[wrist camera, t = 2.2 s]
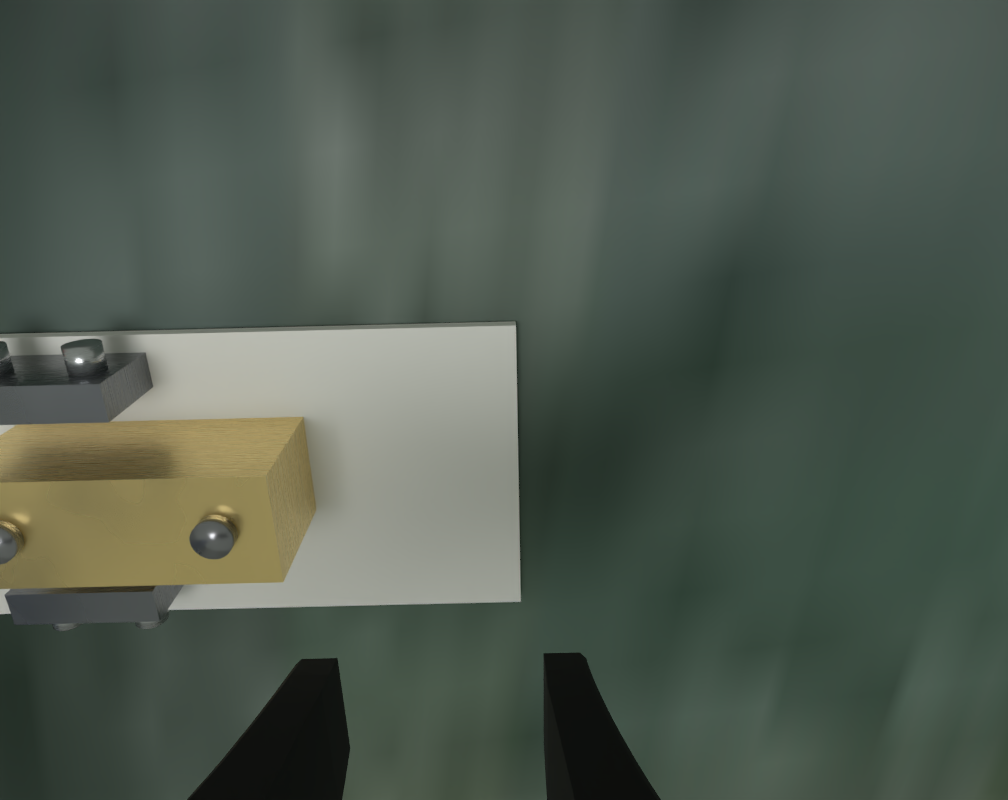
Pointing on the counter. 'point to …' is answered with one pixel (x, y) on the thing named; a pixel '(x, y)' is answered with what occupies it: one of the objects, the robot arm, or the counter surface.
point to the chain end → (78, 399)
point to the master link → (153, 502)
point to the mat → (358, 450)
